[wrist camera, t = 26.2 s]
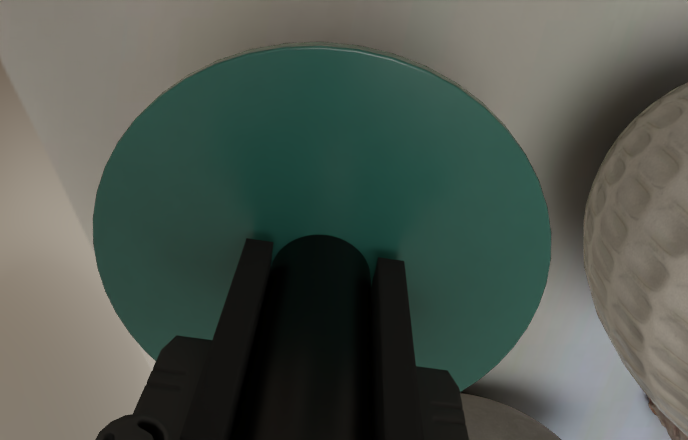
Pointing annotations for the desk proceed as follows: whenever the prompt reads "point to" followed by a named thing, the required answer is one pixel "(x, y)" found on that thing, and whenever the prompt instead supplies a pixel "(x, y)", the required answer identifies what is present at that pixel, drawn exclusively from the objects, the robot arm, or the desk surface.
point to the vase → (645, 251)
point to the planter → (500, 421)
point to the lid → (323, 224)
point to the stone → (667, 423)
